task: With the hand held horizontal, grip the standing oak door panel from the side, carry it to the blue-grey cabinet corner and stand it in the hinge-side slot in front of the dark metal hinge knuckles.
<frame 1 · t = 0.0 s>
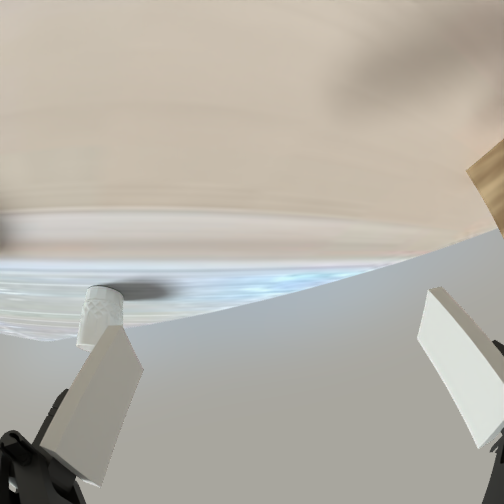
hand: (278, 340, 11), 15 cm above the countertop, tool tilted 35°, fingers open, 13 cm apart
white cup: (105, 292, 43), on the countertop
door panel: (490, 162, 21), on the countertop
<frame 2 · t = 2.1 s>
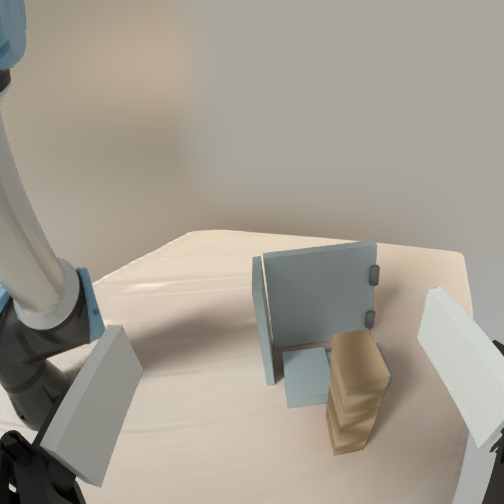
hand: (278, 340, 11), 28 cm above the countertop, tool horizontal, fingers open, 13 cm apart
cabinet: (356, 372, 40), on the countertop
door panel: (344, 432, 30), on the countertop
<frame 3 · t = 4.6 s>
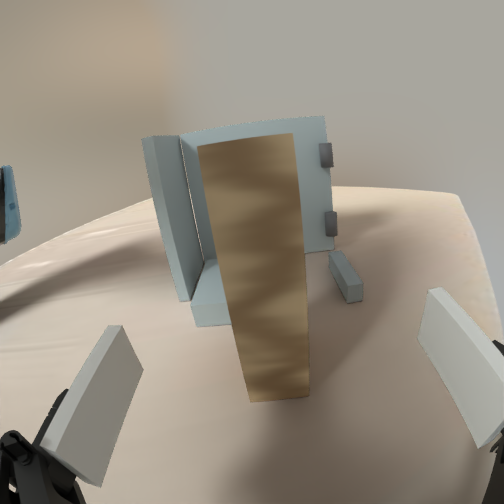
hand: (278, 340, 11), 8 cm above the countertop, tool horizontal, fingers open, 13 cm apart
cabinet: (310, 287, 30), on the countertop
door panel: (276, 364, 20), on the countertop
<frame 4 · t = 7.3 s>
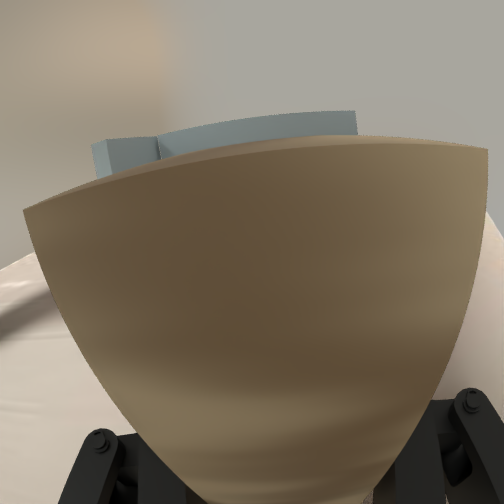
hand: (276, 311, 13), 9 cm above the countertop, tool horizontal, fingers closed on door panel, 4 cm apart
cabinet: (335, 350, 21), on the countertop
door panel: (292, 483, 11), on the countertop, touching gripper
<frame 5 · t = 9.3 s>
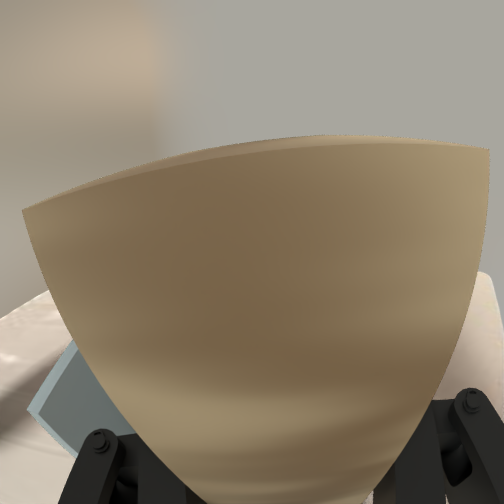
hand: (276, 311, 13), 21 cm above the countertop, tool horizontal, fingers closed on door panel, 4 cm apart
door panel: (292, 484, 11), point 12 cm above the countertop, touching gripper
when the fingers open (9 cm above the countertop, at t = 11.7 s): door panel stays where it is, resting in cabinet.
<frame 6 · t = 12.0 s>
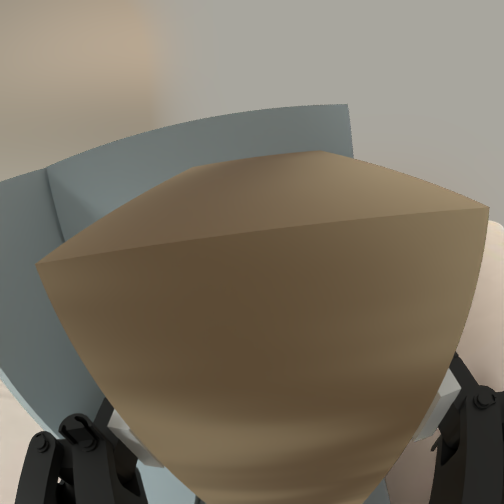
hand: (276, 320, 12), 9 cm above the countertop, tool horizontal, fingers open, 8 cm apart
cabinet: (292, 486, 11), on the countertop
door panel: (293, 486, 11), resting in cabinet
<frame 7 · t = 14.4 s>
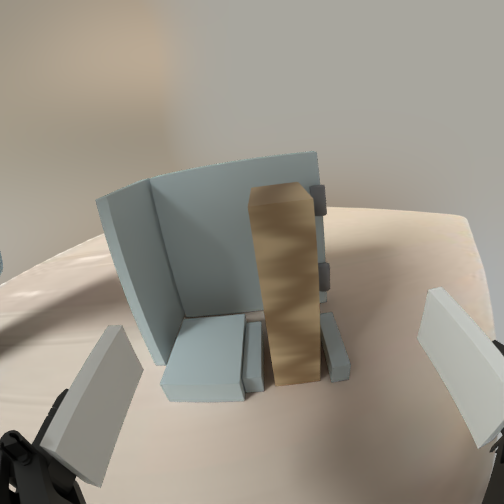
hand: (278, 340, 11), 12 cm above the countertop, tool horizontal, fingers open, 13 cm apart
cabinet: (294, 357, 26), on the countertop
door panel: (294, 357, 26), resting in cabinet
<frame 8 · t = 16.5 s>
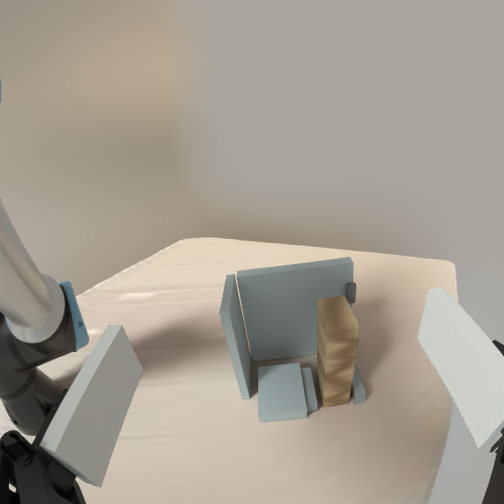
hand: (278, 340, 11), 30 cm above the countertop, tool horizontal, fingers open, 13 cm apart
cabinet: (331, 388, 40), on the countertop
door panel: (332, 389, 40), resting in cabinet
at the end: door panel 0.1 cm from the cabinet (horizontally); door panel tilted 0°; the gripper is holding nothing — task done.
